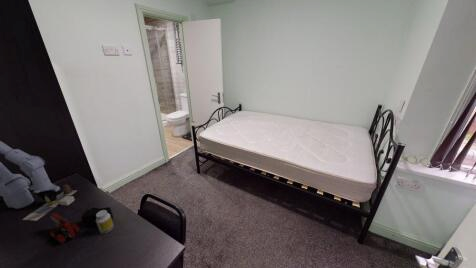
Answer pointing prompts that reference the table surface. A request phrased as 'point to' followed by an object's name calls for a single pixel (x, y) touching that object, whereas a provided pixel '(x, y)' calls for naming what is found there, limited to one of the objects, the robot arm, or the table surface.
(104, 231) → the supplement bottle
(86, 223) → the digital camera
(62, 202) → the die
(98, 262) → the table surface
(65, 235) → the toy fire truck
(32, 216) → the board
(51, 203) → the pawn
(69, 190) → the pawn
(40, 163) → the robot arm
